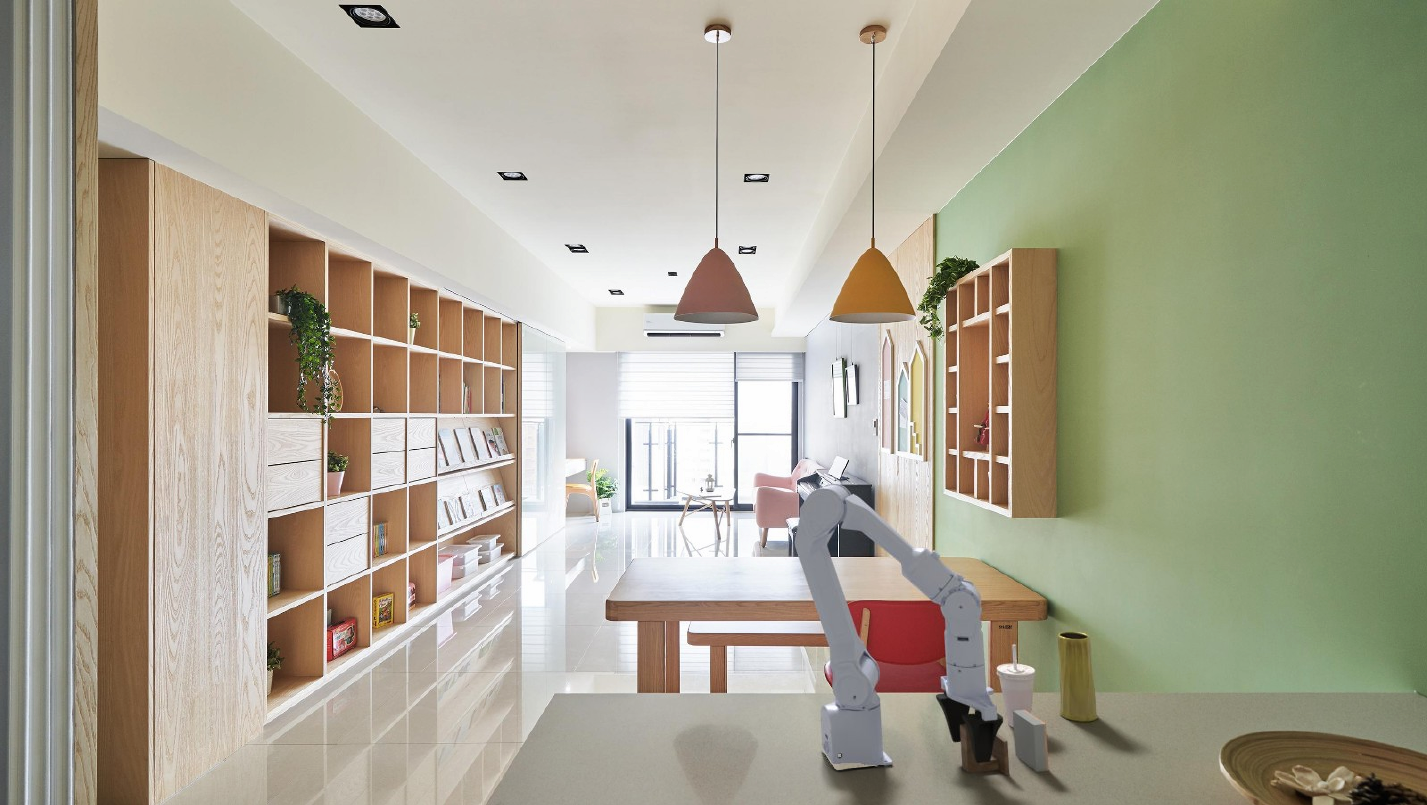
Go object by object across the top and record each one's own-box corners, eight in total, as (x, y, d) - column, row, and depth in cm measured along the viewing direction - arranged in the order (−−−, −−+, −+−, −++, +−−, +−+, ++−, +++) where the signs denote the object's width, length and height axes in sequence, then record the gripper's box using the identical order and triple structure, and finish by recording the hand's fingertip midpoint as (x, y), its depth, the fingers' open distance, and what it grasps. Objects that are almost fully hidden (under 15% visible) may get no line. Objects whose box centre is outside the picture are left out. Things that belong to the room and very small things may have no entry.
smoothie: (997, 728, 132) (992, 647, 132) (1002, 715, 138) (997, 637, 138) (1037, 734, 129) (1032, 650, 129) (1040, 720, 135) (1035, 640, 135)
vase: (1062, 721, 134) (1057, 639, 134) (1057, 708, 140) (1052, 630, 140) (1100, 723, 132) (1095, 640, 133) (1094, 710, 138) (1089, 631, 139)
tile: (1036, 771, 115) (1033, 724, 116) (1015, 755, 121) (1012, 710, 122) (1048, 770, 116) (1045, 723, 116) (1027, 753, 122) (1024, 709, 122)
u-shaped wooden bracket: (974, 778, 114) (972, 734, 114) (956, 761, 120) (953, 719, 120) (1009, 774, 115) (1006, 730, 115) (989, 757, 121) (987, 716, 121)
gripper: (1014, 673, 111) (1020, 767, 111) (967, 646, 125) (972, 729, 125) (968, 678, 110) (974, 773, 110) (926, 650, 124) (932, 734, 124)
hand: (970, 750), depth 117 cm, fingers open, 7 cm apart
